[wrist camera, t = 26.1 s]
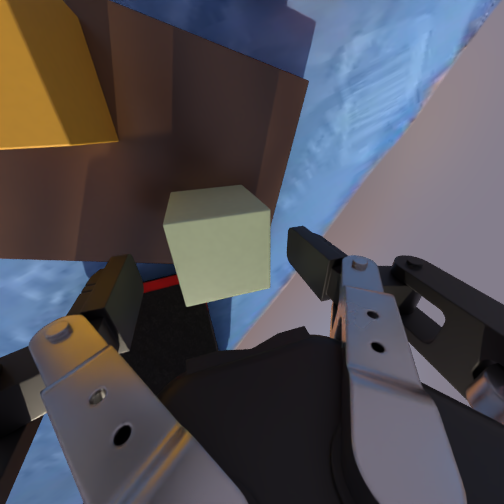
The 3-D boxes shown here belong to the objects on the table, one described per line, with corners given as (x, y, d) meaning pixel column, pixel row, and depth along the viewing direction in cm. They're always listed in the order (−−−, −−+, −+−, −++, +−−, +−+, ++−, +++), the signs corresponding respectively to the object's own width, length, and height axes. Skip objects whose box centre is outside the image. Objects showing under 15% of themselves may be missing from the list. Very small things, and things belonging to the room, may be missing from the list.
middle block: (185, 254, 16) (186, 307, 11) (170, 191, 14) (162, 223, 9) (246, 244, 17) (270, 288, 12) (242, 184, 15) (270, 209, 10)
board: (7, 251, 14) (-4, 258, 13) (-109, -78, 8) (-145, -104, 7) (256, 261, 20) (260, 267, 19) (301, 83, 14) (309, 80, 13)
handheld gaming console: (69, 299, 15) (129, 289, 25) (103, 472, 14) (150, 391, 24) (199, 267, 17) (206, 270, 26) (235, 419, 16) (229, 364, 26)
